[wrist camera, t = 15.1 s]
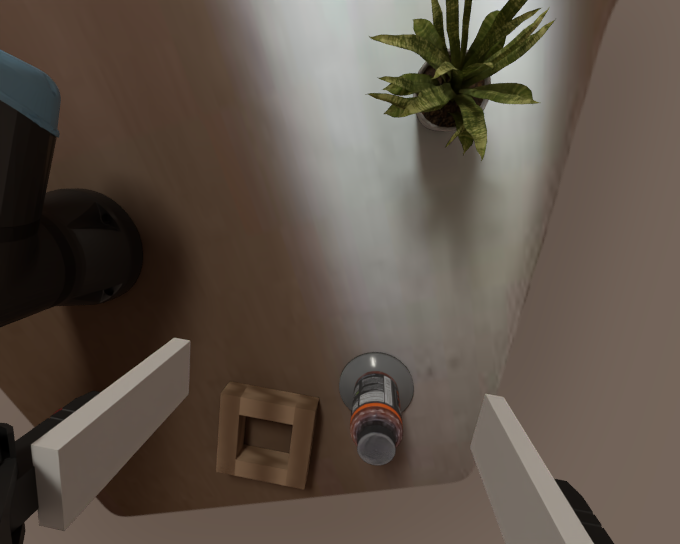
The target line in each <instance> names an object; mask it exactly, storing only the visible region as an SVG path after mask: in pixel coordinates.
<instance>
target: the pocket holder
mask: <svg viewBox="0 0 680 544" xmlns="http://www.w3.org/2000/svg"><path fill="white" fill-rule="evenodd" d="M318 402H319V398H317V397H312V396H307V395H301V394H296V393H291V392H285V391H280V390H274V389H269V388H264V387H258V386H253V385H248V384H242V383H237V382H232V381H230V382H229V383H228V385H227V386H226V387H225V389H224V390H223V391H222V393H221V399H220V415H219V432H218V448H217V465H216V472H220V473H225V474H230V475H235V476H240V477H245V478H250V479H254V480H259V481H264V482H269V483H274V484H279V485H284V486H289V487H294V488H299V489H305V484H306V480H307V476H308V471H309V464H310V457H311V450H312V443H313V436H314V429H315V422H316V416H317V409H318ZM246 416H249V417H254V418H259V419H265V420H270V421H275V422H280V423H285V424H291V425H293V429H292V437H291V445H290V453H285V452H280V451H275V450H270V449H265V448H259V447H254V446H249V445H244V433H245V421H246Z"/></svg>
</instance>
